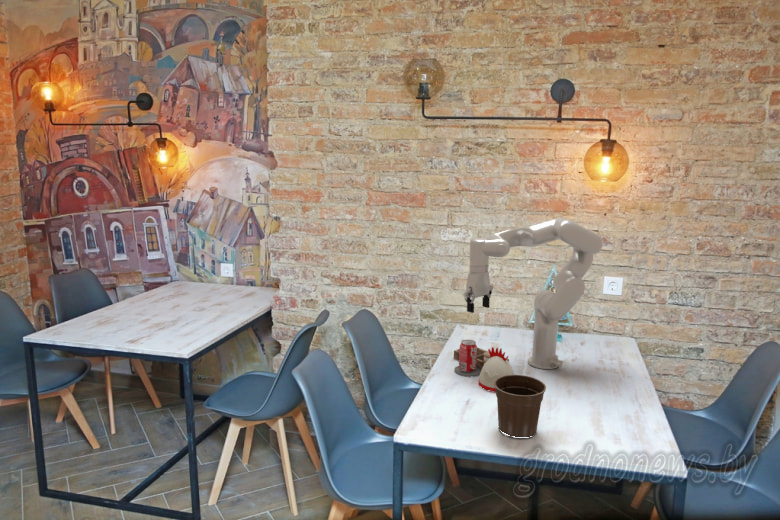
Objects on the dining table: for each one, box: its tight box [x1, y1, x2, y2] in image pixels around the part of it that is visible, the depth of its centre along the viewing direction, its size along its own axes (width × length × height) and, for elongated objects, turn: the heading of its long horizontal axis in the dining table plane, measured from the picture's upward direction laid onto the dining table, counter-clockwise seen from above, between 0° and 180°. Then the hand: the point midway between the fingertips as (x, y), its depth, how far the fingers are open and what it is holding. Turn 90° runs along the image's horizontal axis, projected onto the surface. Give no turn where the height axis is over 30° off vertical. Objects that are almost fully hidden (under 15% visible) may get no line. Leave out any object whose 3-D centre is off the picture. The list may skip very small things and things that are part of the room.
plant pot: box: [494, 374, 547, 437], centre depth 194 cm, size 16×16×16 cm
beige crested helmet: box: [478, 346, 515, 393], centre depth 230 cm, size 14×14×15 cm
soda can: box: [458, 339, 478, 373], centre depth 243 cm, size 7×7×12 cm
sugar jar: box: [484, 351, 491, 362], centre depth 249 cm, size 5×5×6 cm
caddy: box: [453, 346, 510, 370], centre depth 253 cm, size 21×11×4 cm, turn 40°
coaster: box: [453, 365, 481, 378], centre depth 244 cm, size 11×11×1 cm
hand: (478, 309), depth 246 cm, fingers open, 9 cm apart
